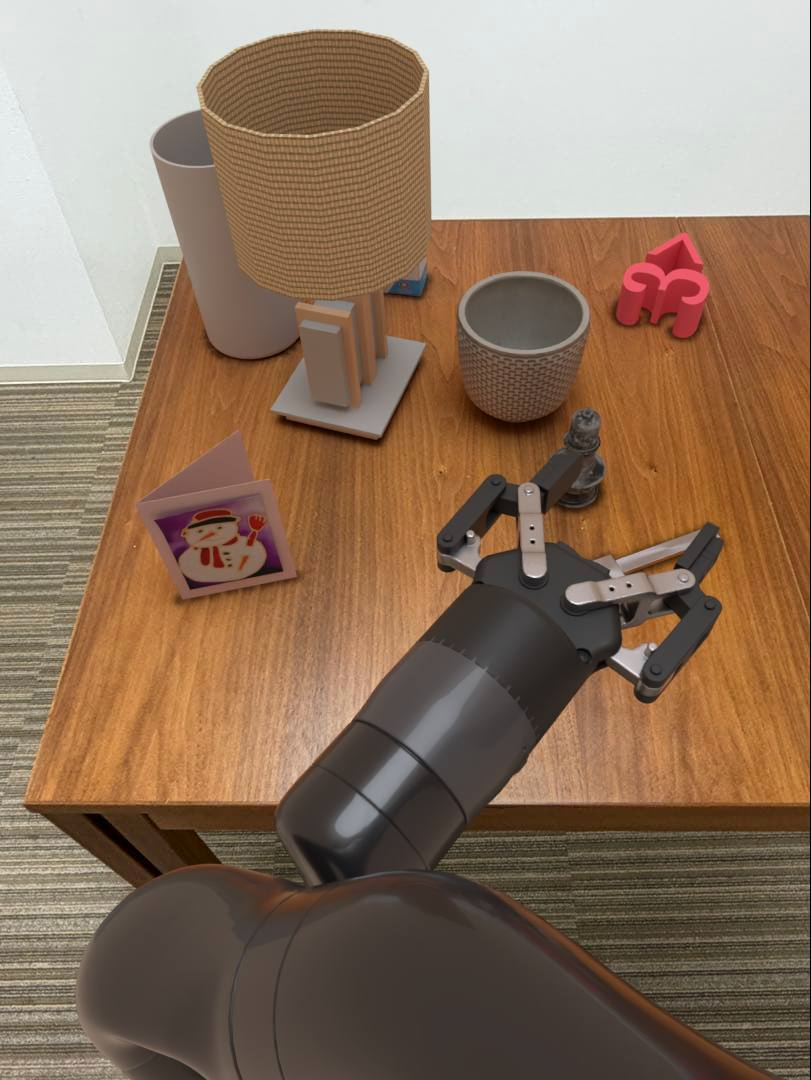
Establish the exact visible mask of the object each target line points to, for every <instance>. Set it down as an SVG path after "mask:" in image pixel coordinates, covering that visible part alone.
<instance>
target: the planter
mask: <svg viewBox="0 0 811 1080" xmlns="http://www.w3.org/2000/svg"><path fill="white" fill-rule="evenodd" d="M591 317H592V315H591V309H590V305H589V303H588V300H587V299H586V298H585V296H584V294H582V292H581V291H580V290H579V289H578V288H576V287H575V286H574V285H572V284H571V283H569V282H567V281H566V280H564V279H562V278H560V277H557V276H554V275H551V274H548V273H545V272H537V271H531V270H528V271H527V270H515V271H506V272H500V273H497V274H493V275H491V276H488V277H485V278H483V279H481V280H479V281H477V282H476V283H474V284H473V285H471V286H470V287H469V288H468V289H467V290H466V291H465V292H464V293H463V295H462V296H461V298H460V300H459V302H458V306H457V310H456V338H457V339H456V340H457V354H458V355H457V356H458V363H459V370H460V375H461V380H462V384H463V388H464V390H465V393H466V394H467V396H468V398H469V399H470V400H471V402H472V403H473V404H474V405H475V407H477V408H478V409H479V410H481V411H482V412H483V413H485V414H486V415H489V416H491V417H493V418H496V419H498V420H500V421H503V422H506V423H513V424H517V423H526V422H529V421H534V420H537V419H538V420H539V419H541V418H543V417H546V416H548V415H550V414H551V413H553V412H555V411H556V410H557V409H558V408H560V406H562V404H563V403H564V402H565V401H566V400H567V398H568V397H569V395H570V393H571V391H572V389H573V387H574V385H575V382H576V379H577V376H578V373H579V370H580V368H581V364H582V361H583V357H584V354H585V350H586V345H587V341H588V337H589V334H590V329H591Z"/></svg>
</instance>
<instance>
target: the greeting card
mask: <svg viewBox="0 0 811 1080" xmlns="http://www.w3.org/2000/svg"><path fill="white" fill-rule="evenodd" d="M134 506H135V508H136V510H137V512H138V514H139V516H140V519H141V520H142V522H143V524H144V526H145V528H146V530H147V532H148V534H149V536H150V538H151V540H152V542H153V544H154V545H155V548H156V550H157V552H158V554H159V556H160V558H161V560H162V561H163V564H164V565H165V568H166V570H167V571H168V574H169V576H170V578H171V579H172V582H173V583H174V585H175V587H176V589H177V592H178V594H179V595H180V598H181V599H182V600H189V599H193V598H198V597H204V596H208V595H214V594H218V593H224V592H229V591H233V590H238V589H244V588H247V587H248V588H249V587H253V586H258V585H265V584H268V583H273V582H279V581H283V580H288V579H295V578H297V577H298V575H297V572H296V568H295V564H294V560H293V557H292V553H291V550H290V545H289V542H288V539H287V535H286V532H285V528H284V524H283V520H282V517H281V512H280V509H279V506H278V502H277V498H276V495H275V491H274V487H273V484H272V481H271V478H266V479H261V480H255V476H254V474H253V470H252V467H251V463H250V460H249V456H248V454H247V449H246V446H245V443H244V440H243V436H242V434H241V430H240V428H238V429H237V430H236V431H234V432H233V433H231V434H230V435H229V436H227V437H226V438H224V440H222V441H220V442H219V443H217V445H215V446H213V447H212V448H211V449H209V450H208V451H207V452H205V453H203V455H201V456H199V457H198V458H197V459H196V460H194V461H193V462H191V463H189V464H188V465H187V466H185V467H184V468H183V469H181V470H180V471H178V472H177V473H176V474H174V475H173V476H172V477H170V478H169V479H167V480H166V481H164V482H163V483H161V484H159V486H158V487H156V488H155V489H154V490H152V491H151V492H149V493H148V494H146V495H145V496H144V497H142V498H141V499H140V500H138V501H137V502H135V503H134Z"/></svg>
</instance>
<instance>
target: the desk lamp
mask: <svg viewBox="0 0 811 1080" xmlns="http://www.w3.org/2000/svg"><path fill="white" fill-rule="evenodd" d="M195 88H196V93H197V98H198V102H199V106H200V109H201V111H202V115H203V120H204V124H205V128H206V132H207V136H208V140H209V144H210V148H211V153H212V157H213V161H214V165H215V169H216V173H217V177H218V181H219V185H220V190H221V194H222V198H223V202H224V206H225V210H226V214H227V218H228V223H229V227H230V231H231V235H232V239H233V243H234V247H235V251H236V256H237V260H238V264H239V268H240V269H241V270H242V271H243V272H244V273H245V274H246V275H247V276H248V277H249V278H251V279H252V280H253V281H254V282H255V283H256V284H257V285H258V286H259V287H261V288H264V289H267V290H269V291H272V292H275V293H278V294H281V295H283V296H286V297H289V298H292V299H301V300H305V301H306V300H307V301H311V302H312V304H311V303H307V302H302V303H301V302H298V303H297V305H296V306H295V313H296V318H297V323H298V329H299V334H300V336H299V339H300V344H301V349H302V355H303V357H302V358H301V360H300V361H299V363H298V364H297V366H296V368H295V369H294V371H293V372H292V374H291V376H290V378H289V379H288V380H287V382H286V383H285V386H284V387H283V388H282V390H281V392H280V394H279V395H278V397H276V399H275V401H274V403H273V404H272V406H271V408H270V413H271V414H275V415H279V416H282V417H283V416H284V417H285V419H286V420H287V421H288V420H289V421H293V422H298V423H301V424H306V425H309V426H315V427H319V428H323V429H327V430H332V431H337V432H340V433H345V434H349V435H353V436H359V437H362V438H367V439H370V440H374V441H378V439H381V438H382V437H383V435H384V432H385V431H386V429H387V427H388V425H389V423H390V421H391V419H392V417H393V415H394V413H395V411H396V409H397V408H398V405H399V403H400V401H401V399H402V397H403V395H404V393H405V391H406V389H407V387H408V385H409V383H410V381H411V379H412V377H413V375H414V372H415V371H416V369H417V367H418V364H419V363H420V361H421V359H422V357H423V354H424V353H425V350H426V349H427V346H428V344H427V342H423V341H421V342H420V341H417V340H411V339H407V338H401V337H397V336H391V335H387V334H388V333H387V322H386V309H385V297H384V296H385V295H384V294H385V293H383V288H385V287H387V286H389V285H391V284H393V283H395V282H397V281H399V280H401V279H403V278H405V277H407V276H408V275H409V274H410V273H411V272H412V271H413V270H414V269H415V267H416V266H417V265H418V264H419V263H420V262H421V261H422V260H423V259H424V258H425V257H426V258H427V256H428V253H429V252H428V251H429V248H430V243H431V238H432V233H433V229H432V227H433V225H432V220H433V219H432V173H431V172H432V171H431V170H432V169H431V168H432V167H431V163H432V162H431V115H430V114H431V112H430V109H431V108H430V105H431V104H430V70H429V68H428V67H427V64H426V63H425V62H424V59H423V58H422V57H421V55H420V53H419V52H418V51H417V50H416V49H414V48H412V47H410V46H408V45H406V44H404V43H403V42H400V41H399V40H397V39H395V38H393V37H391V36H387V35H381V34H377V33H372V32H367V31H363V30H357V29H334V28H333V29H331V28H330V29H328V28H327V29H326V28H324V29H323V28H322V29H321V28H313V29H307V30H301V31H300V30H299V31H294V32H286V33H282V34H281V33H280V34H275V35H270V36H268V37H267V36H266V37H265V38H262V39H259V40H255V41H253V42H250V43H248V44H244V45H242V46H238V47H236V48H234V49H233V50H231V51H230V52H228V53H227V54H225V55H224V56H222V57H220V58H219V59H218V60H216V61H214V62H213V63H211V64H210V65H209V66H208V67H207V69H206V70H205V72H204V74H203V75H202V76H201V78H200V80H199V81H198V83H197V85H196V87H195Z"/></svg>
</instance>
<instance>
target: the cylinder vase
mask: <svg viewBox="0 0 811 1080" xmlns="http://www.w3.org/2000/svg"><path fill="white" fill-rule="evenodd" d="M149 150H150V153H151V156H152V160H153V162H154V166H155V169H156V172H157V175H158V179H159V183H160V185H161V188H162V191H163V195H164V198H165V201H166V205H167V208H168V211H169V215H170V217H171V221H172V225H173V229H174V231H175V234H176V237H177V240H178V243H179V247H180V250H181V254H182V256H183V260H184V263H185V266H186V269H187V273H188V277H189V280H190V283H191V286H192V289H193V292H194V293H193V294H194V296H195V299H196V302H197V306H198V309H199V313H200V315H201V319H202V322H203V326H204V328H205V332H206V335H207V338H208V341H209V342H210V344H211V345H212V346H213V347H214V348H215V349H216V350H217V351H218V352H220V353H221V354H224V355H225V356H228V357H231V358H235V359H242V360H258V359H263V358H267V357H272V356H274V355H276V354H279V353H281V352H283V351H285V350H287V348H289V347H291V346H292V345H293V344H294V343H295V342H297V340H298V339H299V338H300V334H299V329H298V323H297V318H296V313H295V306H296V305H297V303H298V302H301V303H303V301H302V299H292V298H289V297H286V296H283V295H281V294H278V293H275V292H272V291H269V290H267V289H264V288H261V287H259V286H258V285H257V284H256V283H255V282H254V281H253V280H252V279H251V278H249V277H248V276H247V275H246V274H245V273H244V272H243V271H242V270H241V269H240V268H239V264H238V260H237V256H236V251H235V247H234V243H233V239H232V235H231V231H230V227H229V223H228V218H227V214H226V210H225V206H224V202H223V198H222V194H221V190H220V185H219V181H218V177H217V173H216V169H215V165H214V161H213V157H212V153H211V148H210V144H209V140H208V136H207V132H206V128H205V124H204V120H203V115H202V111H201V108H197V109H193V110H190V111H186V112H184V113H181V114H179V115H176V116H173V117H172V118H170V119H168V120H167V121H164V123H162V124H161V125H160V126H159V127H157V128H156V130H155V131H154V132H153V133H152V135H151V137H150V139H149Z"/></svg>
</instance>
